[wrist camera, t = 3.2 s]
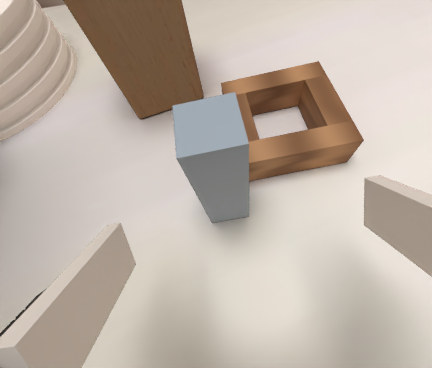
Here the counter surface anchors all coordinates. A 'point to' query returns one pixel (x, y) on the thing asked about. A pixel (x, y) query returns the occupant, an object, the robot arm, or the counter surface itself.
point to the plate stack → (30, 65)
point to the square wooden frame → (312, 113)
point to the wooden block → (143, 50)
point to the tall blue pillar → (214, 154)
